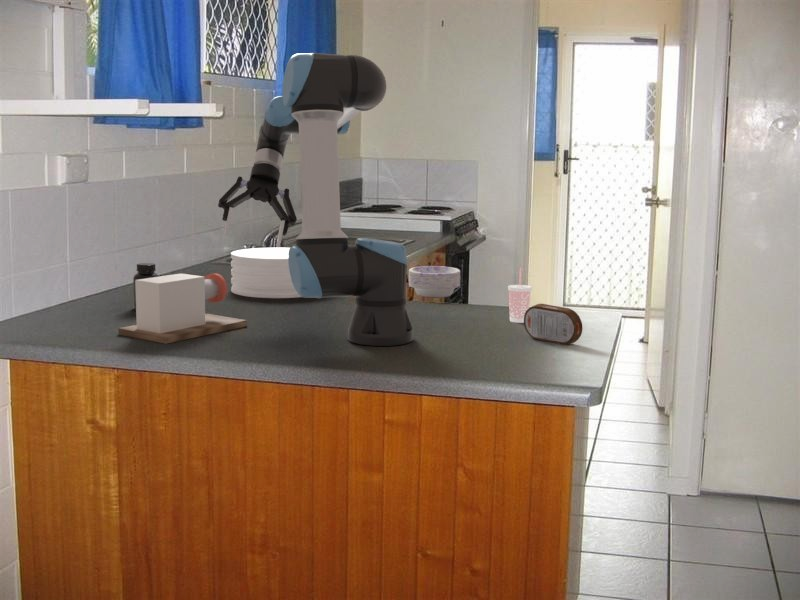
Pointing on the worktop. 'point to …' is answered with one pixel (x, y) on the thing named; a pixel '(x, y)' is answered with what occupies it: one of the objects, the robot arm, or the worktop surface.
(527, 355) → the worktop surface
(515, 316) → the beverage cup
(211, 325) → the board
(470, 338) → the worktop surface
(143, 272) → the supplement bottle
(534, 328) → the tin
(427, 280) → the paper bowls
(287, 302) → the worktop surface
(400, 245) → the robot arm
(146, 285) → the block
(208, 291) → the plug
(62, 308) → the worktop surface
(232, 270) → the plate stack
